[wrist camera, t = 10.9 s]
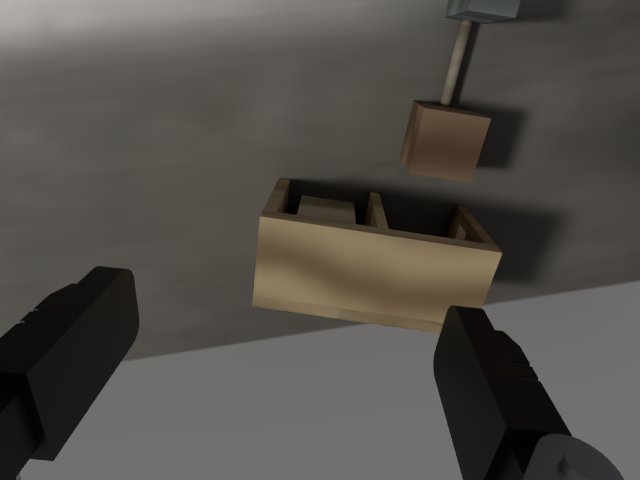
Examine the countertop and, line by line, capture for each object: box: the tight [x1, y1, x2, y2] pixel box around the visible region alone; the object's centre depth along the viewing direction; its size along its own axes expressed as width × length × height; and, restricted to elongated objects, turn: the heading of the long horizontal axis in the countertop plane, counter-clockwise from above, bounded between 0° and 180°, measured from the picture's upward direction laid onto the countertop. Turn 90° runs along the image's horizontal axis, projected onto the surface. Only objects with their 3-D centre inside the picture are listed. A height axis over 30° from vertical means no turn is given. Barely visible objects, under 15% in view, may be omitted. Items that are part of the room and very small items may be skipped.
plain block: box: [297, 195, 356, 224], centre depth 36 cm, size 5×5×5 cm
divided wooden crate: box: [253, 178, 502, 334], centre depth 34 cm, size 8×17×9 cm, turn 82°
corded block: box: [400, 0, 521, 183], centre depth 29 cm, size 14×5×6 cm, turn 172°
